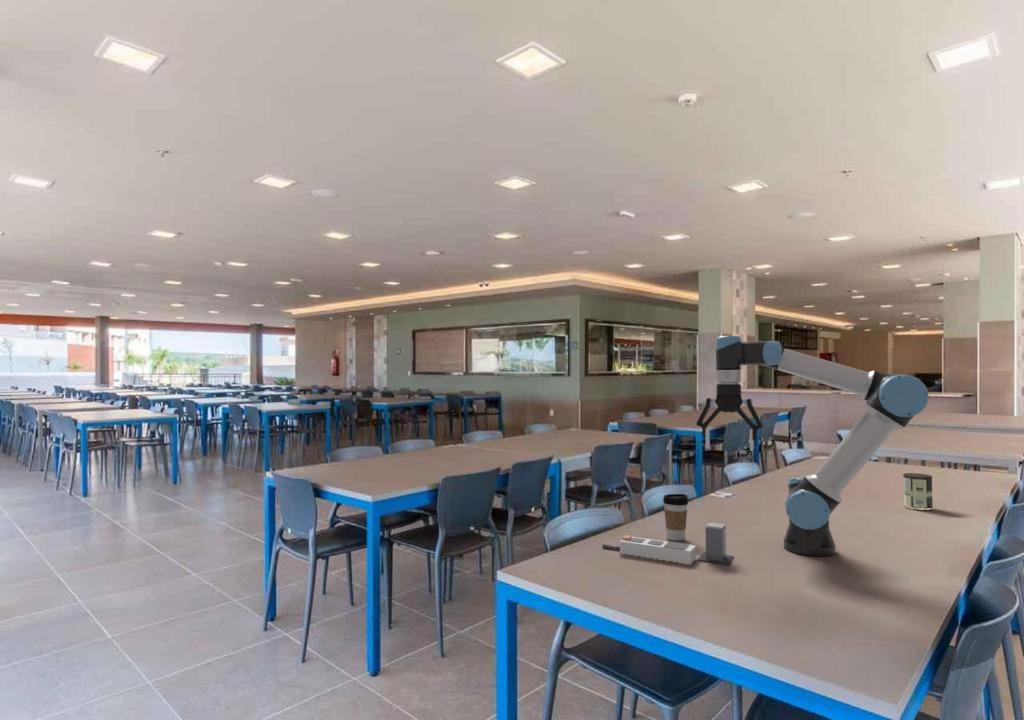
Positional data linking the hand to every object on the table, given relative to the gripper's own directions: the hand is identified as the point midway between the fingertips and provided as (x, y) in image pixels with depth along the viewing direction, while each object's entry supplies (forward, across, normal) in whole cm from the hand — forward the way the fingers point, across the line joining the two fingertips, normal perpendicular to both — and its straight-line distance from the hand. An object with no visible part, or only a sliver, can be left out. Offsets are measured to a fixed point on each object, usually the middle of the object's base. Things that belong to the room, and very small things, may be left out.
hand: (729, 449), depth 191 cm
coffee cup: (+33, -19, +6) cm, 38 cm away
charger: (+32, -2, -11) cm, 34 cm away
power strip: (+33, -23, -17) cm, 43 cm away
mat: (+33, -2, -11) cm, 35 cm away
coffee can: (+33, +59, +103) cm, 123 cm away
